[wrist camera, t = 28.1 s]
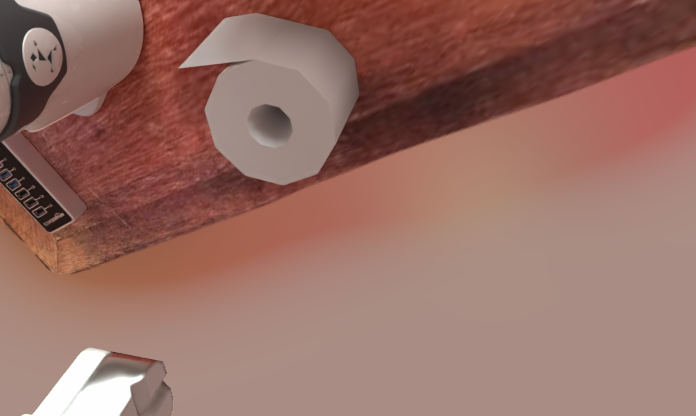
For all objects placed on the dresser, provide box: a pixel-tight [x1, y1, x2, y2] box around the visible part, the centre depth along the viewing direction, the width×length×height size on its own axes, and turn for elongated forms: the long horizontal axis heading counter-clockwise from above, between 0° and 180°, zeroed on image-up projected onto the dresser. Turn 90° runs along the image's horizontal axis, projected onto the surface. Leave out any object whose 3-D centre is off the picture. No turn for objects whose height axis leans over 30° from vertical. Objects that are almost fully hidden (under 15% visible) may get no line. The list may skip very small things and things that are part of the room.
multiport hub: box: [0, 132, 87, 234], centre depth 58 cm, size 4×14×2 cm, turn 32°
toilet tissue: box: [179, 13, 359, 185], centre depth 45 cm, size 9×13×9 cm
